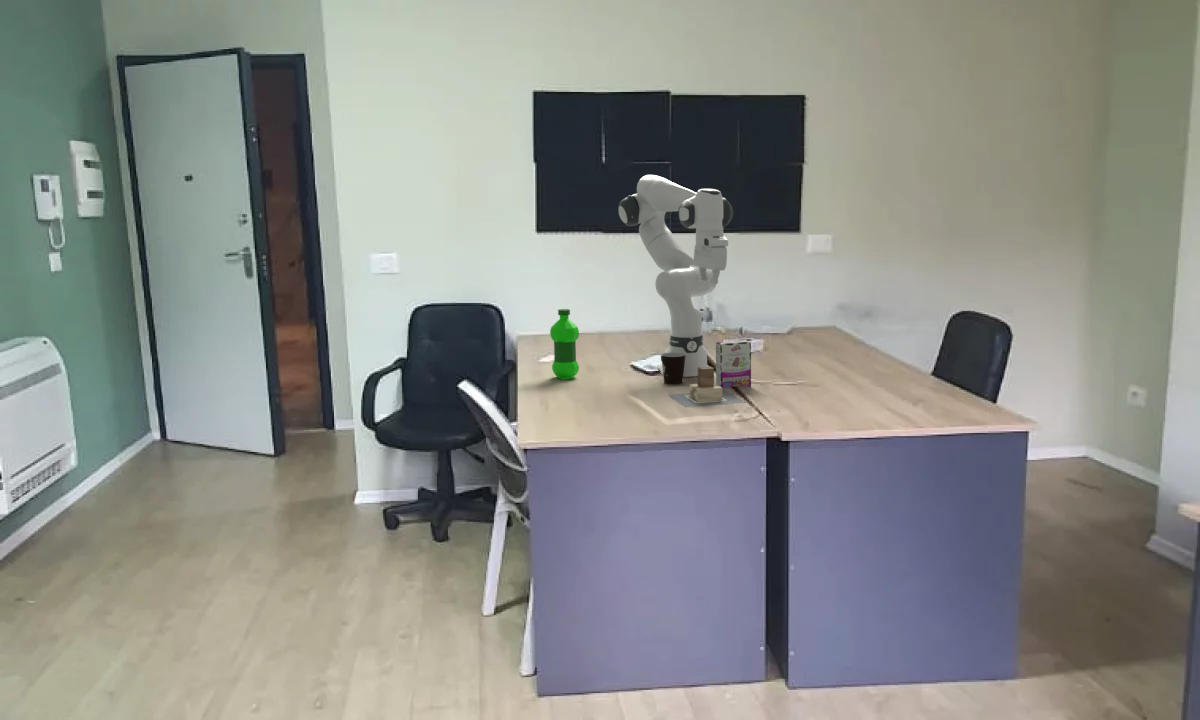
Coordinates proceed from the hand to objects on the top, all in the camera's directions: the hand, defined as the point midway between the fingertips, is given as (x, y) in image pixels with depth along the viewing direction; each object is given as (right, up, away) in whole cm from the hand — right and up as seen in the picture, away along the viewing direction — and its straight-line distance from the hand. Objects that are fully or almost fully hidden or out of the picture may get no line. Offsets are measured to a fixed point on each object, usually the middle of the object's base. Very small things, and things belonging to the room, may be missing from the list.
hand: (709, 282), depth 305 cm
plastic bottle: (-48, -32, +35) cm, 68 cm away
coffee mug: (-10, -33, +26) cm, 43 cm away
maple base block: (-2, -38, -7) cm, 38 cm away
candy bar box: (+10, -35, +12) cm, 39 cm away
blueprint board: (-2, -39, -7) cm, 40 cm away
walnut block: (-2, -34, -8) cm, 35 cm away
